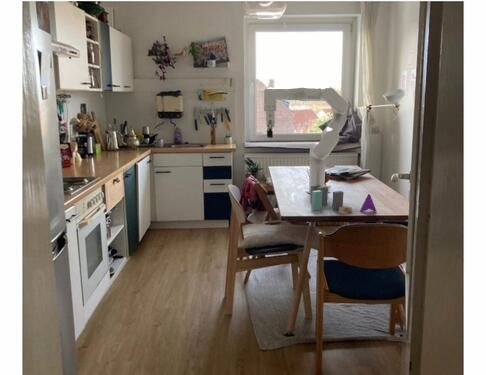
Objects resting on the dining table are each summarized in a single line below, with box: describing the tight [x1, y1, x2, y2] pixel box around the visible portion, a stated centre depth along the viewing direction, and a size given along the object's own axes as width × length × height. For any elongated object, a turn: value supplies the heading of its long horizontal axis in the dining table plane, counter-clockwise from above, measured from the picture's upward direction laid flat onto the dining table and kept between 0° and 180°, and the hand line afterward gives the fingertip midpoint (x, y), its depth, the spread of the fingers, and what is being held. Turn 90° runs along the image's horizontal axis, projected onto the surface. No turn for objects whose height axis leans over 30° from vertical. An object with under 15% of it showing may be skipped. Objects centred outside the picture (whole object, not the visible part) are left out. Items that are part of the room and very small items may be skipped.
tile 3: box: [331, 190, 344, 212], centre depth 236 cm, size 3×5×10 cm, turn 118°
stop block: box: [338, 205, 353, 215], centre depth 232 cm, size 6×3×3 cm, turn 118°
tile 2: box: [318, 187, 329, 206], centre depth 248 cm, size 3×5×10 cm, turn 118°
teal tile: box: [310, 190, 323, 211], centre depth 238 cm, size 3×5×10 cm, turn 118°
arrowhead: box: [359, 193, 378, 213], centre depth 233 cm, size 10×2×10 cm
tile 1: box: [309, 185, 321, 203], centre depth 253 cm, size 3×5×10 cm, turn 118°
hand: (269, 136), depth 272 cm, fingers open, 9 cm apart
